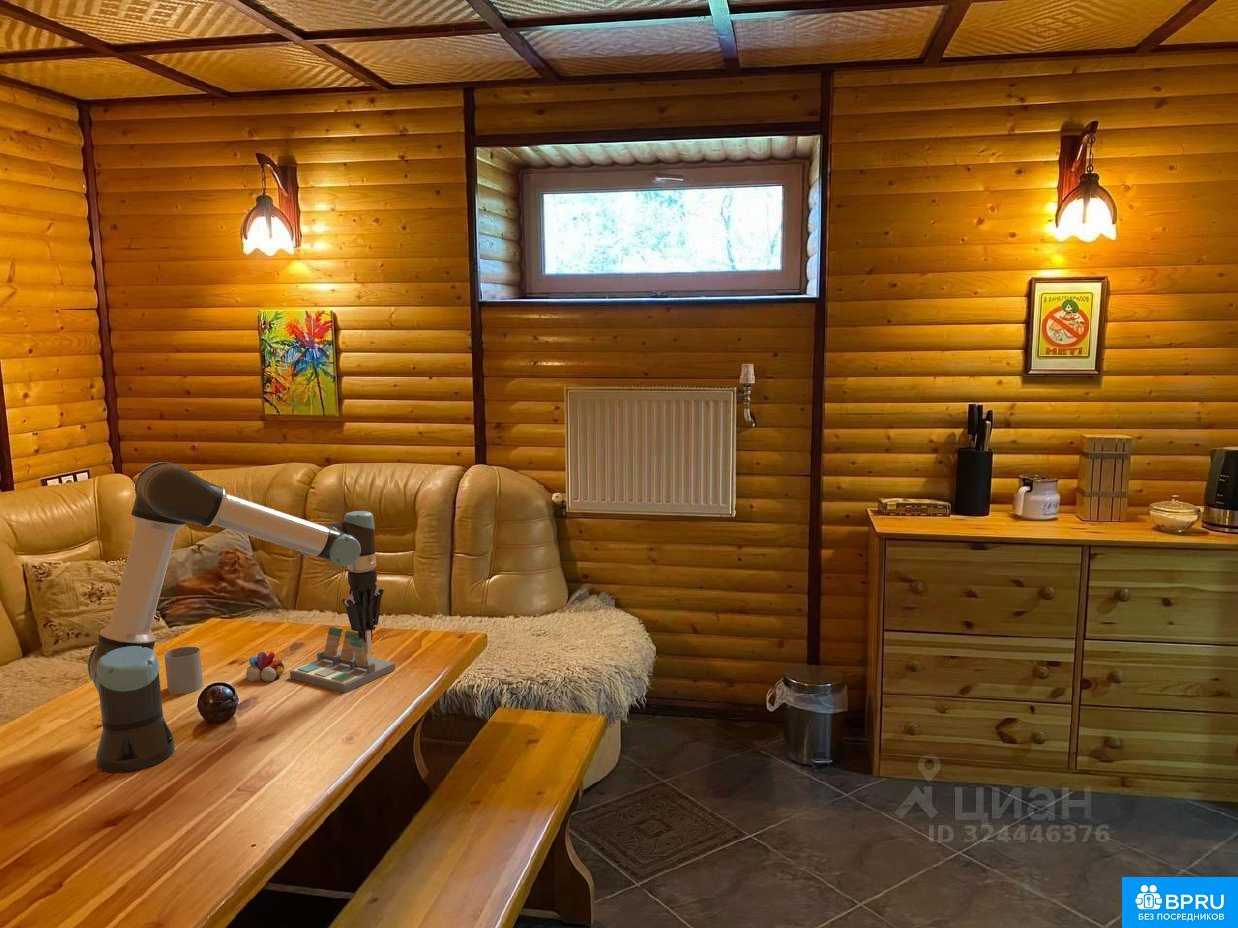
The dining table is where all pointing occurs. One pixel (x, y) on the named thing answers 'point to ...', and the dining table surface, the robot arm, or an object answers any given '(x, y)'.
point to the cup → (183, 670)
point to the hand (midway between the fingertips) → (366, 653)
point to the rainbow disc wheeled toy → (264, 667)
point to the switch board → (341, 672)
